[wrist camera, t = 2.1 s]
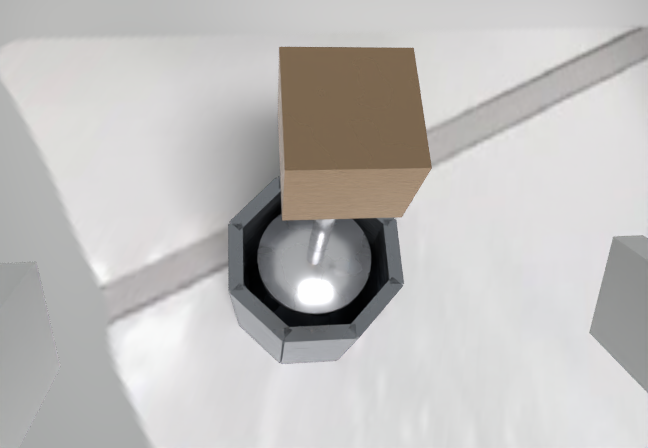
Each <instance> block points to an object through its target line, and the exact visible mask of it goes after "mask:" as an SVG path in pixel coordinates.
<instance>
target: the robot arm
mask: <svg viewBox="0 0 648 448" xmlns="http://www.w3.org/2000/svg"><path fill="white" fill-rule="evenodd" d="M589 333H590V334H591V335H592V336H593V337H594V338H595V339H596V340H597V341H598V342H599V343H600V344H601V345H602V346H603V347H604V348H605V349H606V350H607V351H608V352H609V353H610V355H611V356H612V357H613V358H614V359H615V360H616V361H617V362H618V363H619V364H620V365H621V366H622V367H623V368H624V369H625V370H626V371H627V372H628V373H629V374H630V375H631V376H632V377H633V378H634V379H635V380H636V381H637V382H638V383H639V384H640V385H641V386H642V387H643V388H644V390H645V391H646V392H647V393H648V238H646V237H645V236H643V235H641V236H618V237H613V240H612V244H611V248H610V252H609V256H608V260H607V264H606V268H605V272H604V276H603V280H602V284H601V288H600V292H599V296H598V300H597V304H596V308H595V312H594V316H593V320H592V324H591V328H590V332H589ZM60 367H61V366H60V362H59V357H58V353H57V349H56V344H55V340H54V336H53V332H52V327H51V323H50V319H49V314H48V310H47V305H46V301H45V297H44V292H43V288H42V284H41V280H40V275H39V271H38V266H37V262H20V263H0V448H20V446H21V444H22V442H23V440H24V438H25V436H26V434H27V432H28V430H29V428H30V426H31V424H32V422H33V420H34V418H35V416H36V415H37V413H38V410H39V409H40V407H41V405H42V403H43V401H44V399H45V397H46V395H47V393H48V391H49V389H50V387H51V385H52V383H53V381H54V379H55V377H56V375H57V373H58V371H59V369H60Z"/></svg>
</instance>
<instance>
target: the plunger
mask: <svg viewBox="0 0 648 448" xmlns="http://www.w3.org/2000/svg"><path fill="white" fill-rule="evenodd" d="M278 132H279V156H280V181H281V206H282V214H280V215H279V216H278V217H276V218H275V219H274V220H273V221H272V222H271V223H270V225H269V226H268V227H267V229H266V230H265V232H264V234H263V236H262V238H261V241H260V244H259V248H258V269H259V274H260V278H261V280H262V283H263V285H264V287H265V289H266V290H267V292H268V293H269V294H270V296H271V297H272V298H273V299H274V300H275V301H276V302H277V303H279V304H280V305H281V306H283V307H284V308H286V309H288V310H290V311H292V312H295V313H298V314H301V315H307V316H322V315H327V314H331V313H334V312H337V311H339V310H341V309H343V308H344V307H346V306H347V305H349V304H350V303H351V302H352V301H353V300H354V299H355V298H356V297H357V296H358V295H359V293H360V292H361V290H362V289H363V287H364V285H365V283H366V281H367V279H368V276H369V273H370V268H371V252H370V247H369V244H368V241H367V238H366V236H365V234H364V233H363V231H362V229H361V228H360V227H359V226H358V224H357V223H356V222H355V221H354V220H353V219H355V218H392V217H402V216H403V214H404V213H405V211H406V209H407V208H408V206H409V204H410V203H411V201H412V199H413V198H414V196H415V195H416V193H417V191H418V190H419V188H420V186H421V185H422V183H423V182H424V180H425V178H426V177H427V175H428V173H429V172H430V170H431V168H432V166H431V160H430V153H429V147H428V140H427V133H426V127H425V120H424V114H423V107H422V100H421V94H420V87H419V80H418V74H417V67H416V61H415V54H414V48H361V47H279V83H278Z"/></svg>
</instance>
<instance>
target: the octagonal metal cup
mask: <svg viewBox="0 0 648 448" xmlns="http://www.w3.org/2000/svg"><path fill="white" fill-rule="evenodd" d="M280 214H282V206H281V181H280V176H278V179H277V178H275V179H274V180H273V181H272V182H271V183H270V184H269V185H268V186H267V187H266V188H264V189H263V190H262V191H261V192H260V193H259V194H258V195H257V196H256V197H255V198H254V199H253V200H252V201H251V202H250V203H249V204H248V205H247V206H246V207H244V208H243V209H242V210H241V211H240V212H239V213H238V214H237V215H236V216H235V217H234V218H233V219H232V220H231V221H230V224H228V250H229V294H230V297H231V300H232V303H233V307H234V310H235V313H236V316H237V320H238V323H239V325H240V327H241V328H242V329H243V330H245V331H246V332H247V333H248V334H249V335H250V336H251V337H252V338H253V339H254V340H255V341H256V342H257V343H258V344H259V345H261V346H262V347H263V348H264V349H265V350H266V351H267V352H268V353H269V354H270V355H271V356H272V357H273V358H275V359H276V360H277V361H278V362H279V363H280V362H281V364H288V363H306V362H324V361H336V360H337V359H339V358H340V357H341V356H342V355H343V354H344V353H345V352H346V351H347V350H348V349H349V348H350V347H351V346H352V345H353V344H354V342H355V341H356V340H357V339H358V338H359V337H360V336H361V335H362V334H363V332H364V331H365V330H366V329H367V328H368V327H369V325H370V324H371V323H372V322H373V321H374V320H375V318H376V317H377V316H378V315H379V314H380V312H381V311H382V310H383V309H384V308H385V307H386V305H387V304H388V303H389V302H390V301H391V299H392V298H393V297H394V296H395V295H396V294H397V292H398V291H399V290H400V289H401V288H402V286H403V284H404V280H403V272H402V264H401V256H400V247H399V239H398V231H397V222H396V219H394V218H395V217H392V218H355V219H353V220H354V221H355V222H356V223H357V224H358V226H359V227H360V228H361V229H362V231H363V233H364V234H365V236H366V238H367V241H368V244H369V247H370V252H371V268H370V273H369V276H368V279H367V281H366V283H365V285H364V287H363V289H362V290H361V292H360V293H359V295H358V296H357V297H356V298H355V299H354V300H353V301H352V302H351V303H350V304H349V305H347V306H346V307H344V308H343V309H341V310H339V311H337V312H334V313H331V314H327V315H322V316H307V315H301V314H298V313H295V312H292V311H290V310H288V309H286V308H284V307H283V306H281V305H280V304H279V303H277V302H276V301H275V300H274V299H273V298H272V297H271V296H270V294H269V293H268V292H267V290H266V289H265V287H264V285H263V283H262V280H261V278H260V274H259V269H258V248H259V244H260V241H261V238H262V236H263V234H264V232H265V230H266V229H267V227H268V226H269V225H270V223H271V222H272V221H273V220H274V219H275V218H276V217H278V216H279V215H280Z"/></svg>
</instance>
